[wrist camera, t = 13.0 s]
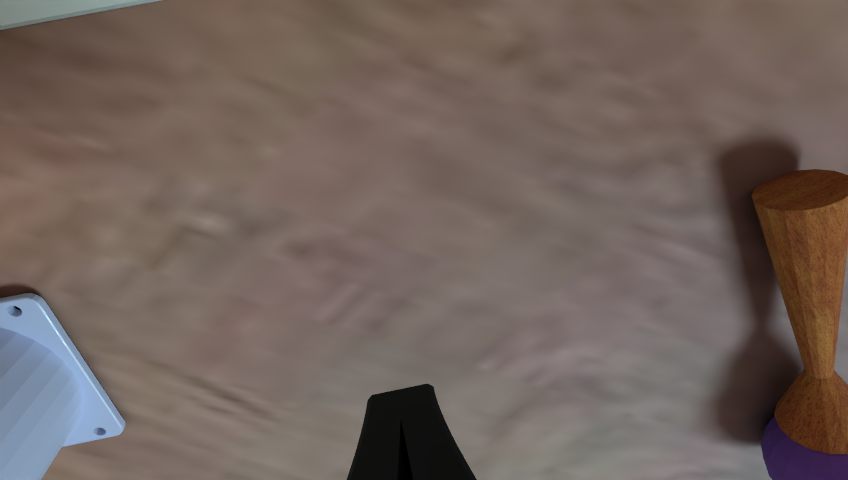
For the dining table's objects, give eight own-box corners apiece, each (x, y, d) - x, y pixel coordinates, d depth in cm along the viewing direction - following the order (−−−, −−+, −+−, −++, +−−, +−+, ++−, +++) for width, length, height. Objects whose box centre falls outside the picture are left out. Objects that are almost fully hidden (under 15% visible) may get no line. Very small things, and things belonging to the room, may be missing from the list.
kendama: (949, 170, 17) (936, 509, 25) (791, 146, 23) (821, 431, 31) (813, 248, 17) (843, 569, 25) (685, 204, 22) (743, 479, 30)
